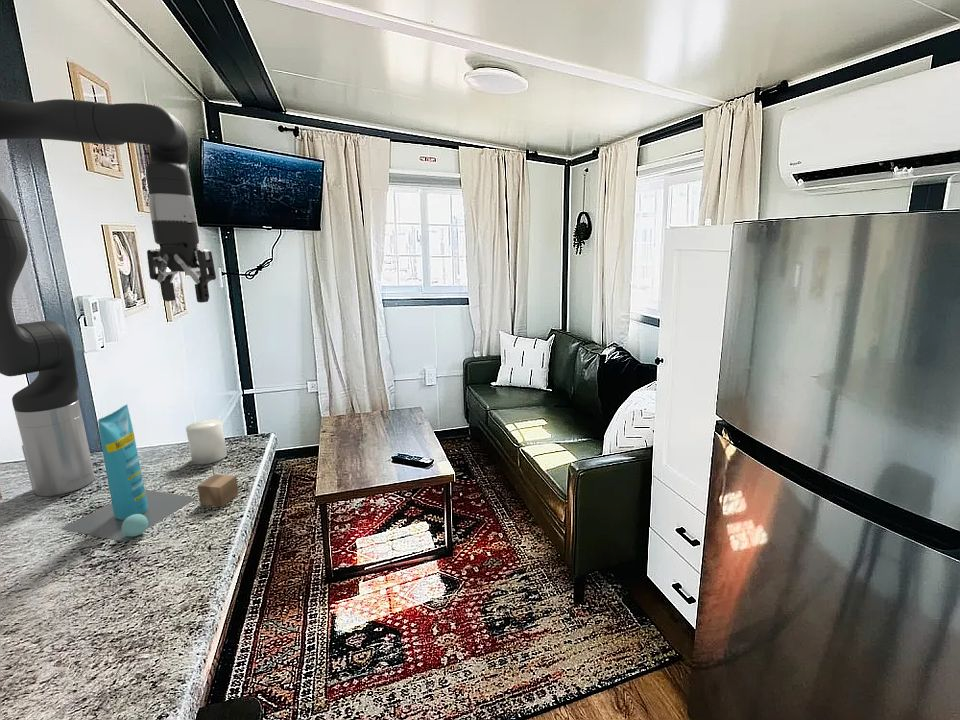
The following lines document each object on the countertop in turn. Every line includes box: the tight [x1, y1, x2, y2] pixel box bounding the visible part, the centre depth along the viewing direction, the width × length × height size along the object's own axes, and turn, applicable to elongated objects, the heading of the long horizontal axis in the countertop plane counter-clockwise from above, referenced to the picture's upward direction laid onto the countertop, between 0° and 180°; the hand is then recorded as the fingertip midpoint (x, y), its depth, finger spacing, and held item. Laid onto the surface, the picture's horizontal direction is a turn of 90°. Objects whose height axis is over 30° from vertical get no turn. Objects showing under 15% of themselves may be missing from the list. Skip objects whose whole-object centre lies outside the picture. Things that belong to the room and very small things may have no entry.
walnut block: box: [197, 473, 239, 507], centre depth 87 cm, size 4×4×4 cm
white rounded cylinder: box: [185, 418, 228, 465], centre depth 105 cm, size 7×7×8 cm
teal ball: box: [122, 514, 148, 538], centre depth 76 cm, size 4×4×4 cm
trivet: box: [61, 488, 198, 543], centre depth 83 cm, size 14×14×1 cm
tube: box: [97, 403, 148, 520], centre depth 80 cm, size 7×5×19 cm, turn 12°
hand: (186, 301), depth 95 cm, fingers open, 8 cm apart
